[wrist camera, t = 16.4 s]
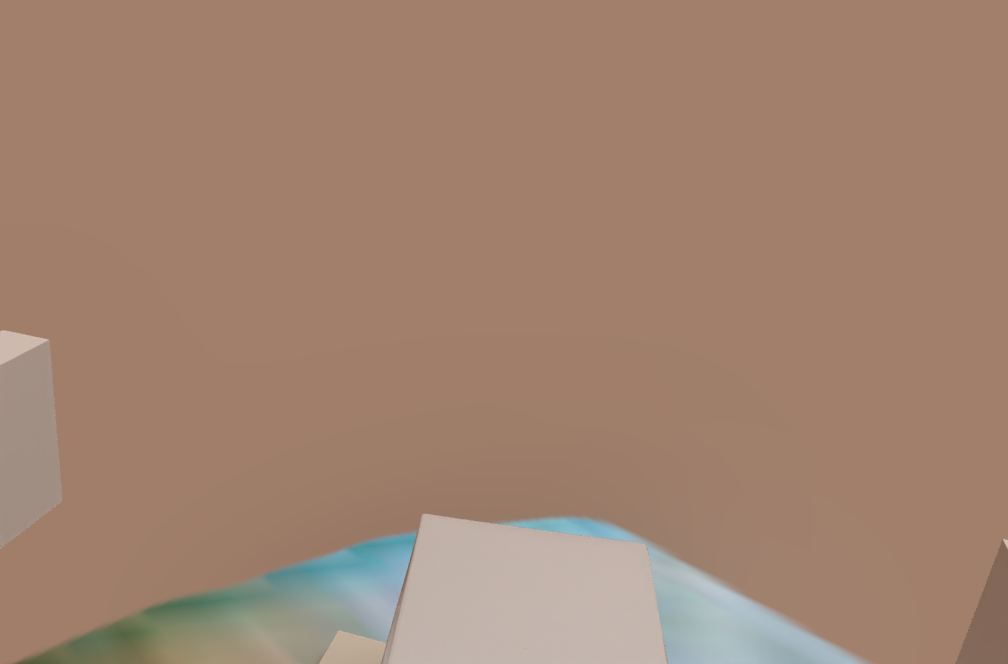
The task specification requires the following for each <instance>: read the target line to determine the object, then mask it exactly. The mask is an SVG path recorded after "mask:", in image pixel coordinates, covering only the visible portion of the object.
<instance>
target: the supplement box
mask: <svg viewBox="0 0 1008 664" xmlns="http://www.w3.org/2000/svg"><path fill="white" fill-rule="evenodd" d="M381 664H668V660H667V655H666V650H665V645H664V640H663V635H662V629H661V623H660V618H659V612H658V606H657V600H656V594H655V589H654V583H653V577H652V571H651V565H650V560H649V554H648V550H647V546H646V545H645V544H643V543H637V542H631V541H623V540H614V539H605V538H598V537H590V536H582V535H575V534H567V533H560V532H552V531H545V530H537V529H530V528H523V527H515V526H508V525H501V524H493V523H486V522H478V521H471V520H464V519H457V518H451V517H444V516H437V515H430V514H422V516H421V521H420V525H419V529H418V532H417V536H416V540H415V543H414V547H413V551H412V555H411V558H410V562H409V566H408V569H407V573H406V576H405V580H404V583H403V587H402V590H401V594H400V597H399V601H398V604H397V608H396V611H395V615H394V618H393V622H392V625H391V629H390V633H389V636H388V640H387V644H386V647H385V651H384V655H383V658H382V662H381Z"/></svg>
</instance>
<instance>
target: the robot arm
mask: <svg viewBox="0 0 1008 664" xmlns="http://www.w3.org/2000/svg"><path fill="white" fill-rule="evenodd" d="M60 502H62V490H61V478H60V466H59V454H58V441H57V428H56V416H55V404H54V392H53V379H52V367H51V355H50V343H49V340H48V339H43V338H38V337H33V336H28V335H24V334H18V333H14V332H10V331H5V330H2V331H0V549H1V548H2V547H3V546H4V545H6V544H7V543H9V542H10V541H11V540H12V539H14V538H15V537H16V536H17V535H19V534H20V533H22V532H23V531H24V530H25V529H27V528H28V527H29V526H31V525H32V524H33V523H34V522H36V521H37V520H38V519H40V518H41V517H42V516H43V515H45V514H46V513H47V512H49V511H50V510H51V509H53V508H54V507H55V506H56V505H58V504H59V503H60ZM956 664H1008V540H1005V539H1003V540H1002V542H1001V545H1000V548H999V550H998V553H997V556H996V558H995V561H994V563H993V566H992V569H991V571H990V574H989V576H988V579H987V582H986V584H985V587H984V590H983V592H982V595H981V598H980V600H979V603H978V606H977V608H976V611H975V613H974V616H973V619H972V622H971V624H970V627H969V629H968V632H967V634H966V637H965V640H964V642H963V645H962V648H961V650H960V653H959V656H958V658H957V661H956Z"/></svg>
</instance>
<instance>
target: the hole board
mask: <svg viewBox="0 0 1008 664" xmlns="http://www.w3.org/2000/svg"><path fill="white" fill-rule="evenodd" d="M386 644H387V643H384V642H380V641H376V640H373V639H369V638H365V637H362V636H358V635H354V634H351V633H347V632H343V631H338V633H337V635H336V636H335V638H334V640H333V641H332V643H331V645H330V646H329V648H328V650H327V651H326V653H325V655H324V656H323V658H322V660H321V661H320V663H319V664H381V662H382V658H383V655H384V651H385V647H386Z"/></svg>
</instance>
